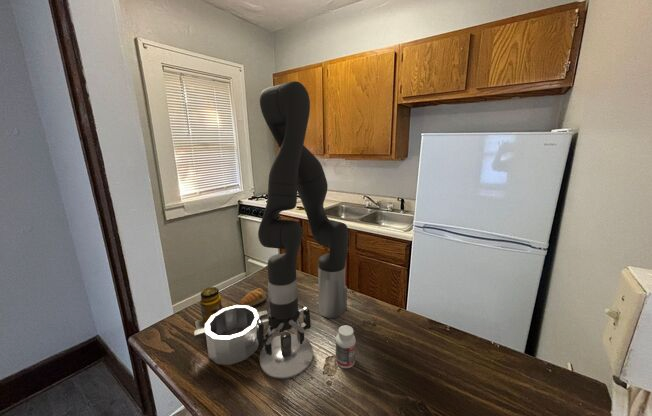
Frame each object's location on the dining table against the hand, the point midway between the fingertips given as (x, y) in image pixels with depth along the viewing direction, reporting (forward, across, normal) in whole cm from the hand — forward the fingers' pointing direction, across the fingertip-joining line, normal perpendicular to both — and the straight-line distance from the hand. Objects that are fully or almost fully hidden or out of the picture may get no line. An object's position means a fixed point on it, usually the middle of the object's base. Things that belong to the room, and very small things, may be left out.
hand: (285, 347), depth 68 cm
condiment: (+4, +18, -25) cm, 31 cm away
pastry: (+4, +2, -31) cm, 32 cm away
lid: (+4, 0, 0) cm, 4 cm away
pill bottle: (+4, -14, +8) cm, 17 cm away
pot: (+4, +12, -12) cm, 17 cm away
